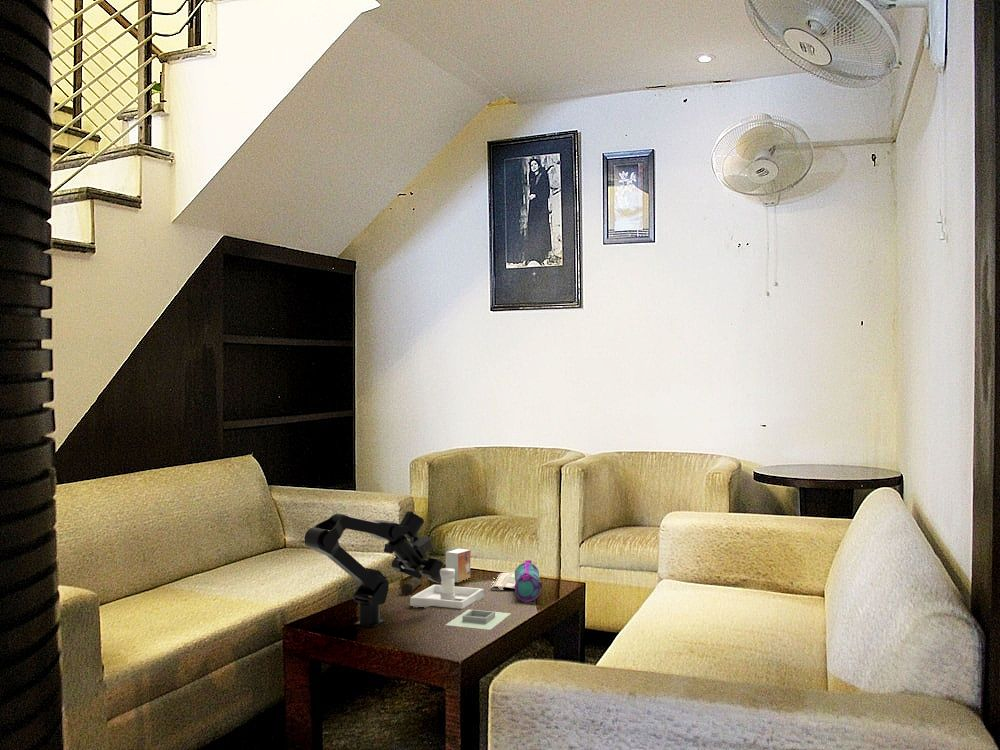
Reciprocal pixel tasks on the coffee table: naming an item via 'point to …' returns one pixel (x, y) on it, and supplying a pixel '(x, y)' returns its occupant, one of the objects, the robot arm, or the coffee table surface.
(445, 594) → the white light bulb
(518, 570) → the pencil case
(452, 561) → the small box
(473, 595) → the parts tray
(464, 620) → the green board with frame
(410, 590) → the hand tool
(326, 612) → the coffee table surface
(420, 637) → the coffee table surface
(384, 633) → the coffee table surface
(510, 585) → the newspaper
